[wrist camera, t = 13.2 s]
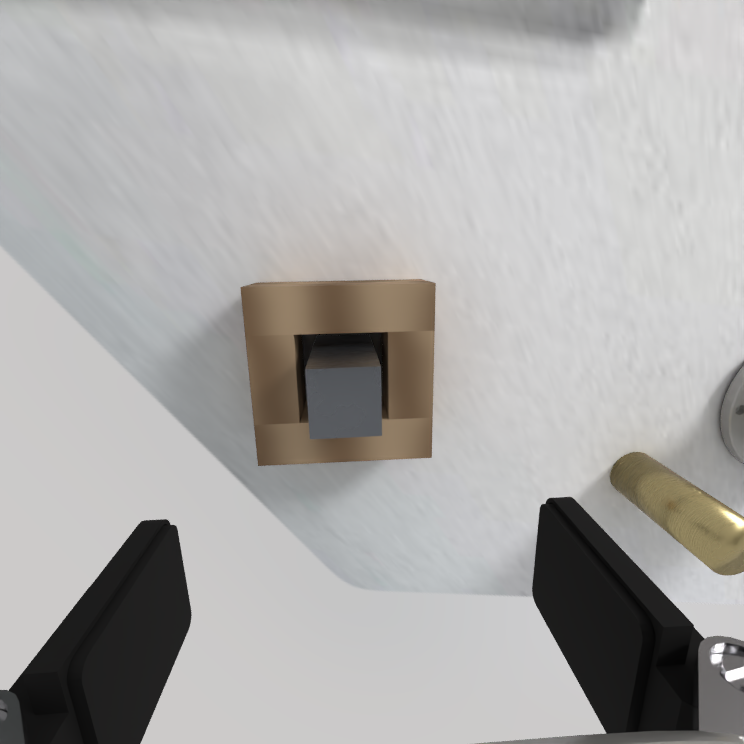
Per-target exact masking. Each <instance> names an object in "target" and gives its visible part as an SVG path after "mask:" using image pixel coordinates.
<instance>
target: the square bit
mask: <svg viewBox="0 0 744 744" xmlns="http://www.w3.org/2000/svg"><path fill="white" fill-rule="evenodd" d="M305 376H306V391H307V406H308V420H309V435H310V439H330V438H351V437H371V436H382V398H381V365H380V362H379V359H378V357H377V354H376V351H375V348H374V345H373V343H372V340H371V337H370V334H342V335H316V338H315V341H314V344H313V347H312V350H311V353H310V356H309V359H308V362H307V365H306V368H305Z"/></svg>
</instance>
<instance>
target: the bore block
mask: <svg viewBox="0 0 744 744" xmlns="http://www.w3.org/2000/svg"><path fill="white" fill-rule="evenodd" d="M435 284H436V283H433V282H429V281H425V280H422V279H413V280H365V281H317V282H269V283H254V284H251V285H247V286H244V287H241V296H242V306H243V316H244V327H245V337H246V347H247V357H248V367H249V377H250V387H251V398H252V408H253V418H254V428H255V438H256V448H257V458H258V466H265V465H286V464H307V463H328V462H349V461H370V460H391V459H412V458H432V415H433V371H434V327H435ZM370 332H381V350H382V396H381V398H382V436H371V437H351V438H330V439H310V435H309V420H308V406H307V399H306V392H305V376H304V360H303V344H302V334H335V333H370Z"/></svg>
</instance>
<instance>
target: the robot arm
mask: <svg viewBox="0 0 744 744" xmlns="http://www.w3.org/2000/svg"><path fill="white" fill-rule="evenodd" d="M720 424H721V432H722V437H723V439H724V442H725V445H726V447H727V448H728V449H729V451H730V452H731V454H732V455H733V456H734V457H735V458H736V459H738V460H739V461H740V462H741V463H743V464H744V366H743V367H742V368H741V369H740V370H739V372H738V373H737V375H736V376H735V378H734V379H733V381H732V382H731V384H730V386H729V388H728V391H727V393H726V395H725V398H724V402H723V405H722V409H721V421H720ZM532 592H533V598H534V601H535V603H536V606H537V608H538V609H539V611H540V613H541V615H542V617H543V618H544V620H545V622H546V624H547V626H548V628H549V629H550V631H551V633H552V635H553V637H554V638H555V640H556V642H557V644H558V646H559V648H560V649H561V651H562V653H563V655H564V657H565V658H566V660H567V662H568V664H569V666H570V668H571V669H572V671H573V673H574V675H575V677H576V678H577V680H578V682H579V684H580V686H581V687H582V689H583V691H584V693H585V695H586V697H587V698H588V700H589V702H590V704H591V706H592V708H593V709H594V711H595V713H596V715H597V716H598V718H599V720H600V722H601V724H602V726H603V727H604V729H605V731H606V733H607V734H593V735H577V736H565V737H552V738H540V739H527V740H514V741H502V742H490V743H477V744H744V641H741V640H738V639H734V638H731V637H724V636H713V637H707V638H706V639H704V638H703V637H702V636H701V635H700V634H699V632H698V631H697V630H696V629H695V628H694V625H693V624H692V623H691V622H690V621H689V620H688V619H687V618H686V617H685V615H684V614H683V613H682V612H681V611H680V610H679V609H678V608H677V607H676V606H675V605H674V604H673V603H672V602H671V601H670V600H669V599H668V597H667V596H666V595H665V594H664V593H663V592H662V591H661V590H660V589H659V588H658V587H657V586H656V585H655V584H654V583H653V582H652V581H651V580H650V579H649V578H648V576H647V575H646V574H645V573H644V572H643V571H642V570H641V569H640V568H639V567H638V566H637V565H636V564H635V563H634V562H633V561H632V560H631V559H630V558H629V556H628V555H627V554H626V553H625V552H624V551H623V550H622V549H621V548H620V547H619V546H618V545H617V544H616V543H615V542H614V541H613V540H612V539H611V538H610V536H609V535H608V534H607V533H606V532H605V531H604V530H603V529H602V528H601V527H600V526H599V525H598V524H597V523H596V522H595V521H594V520H593V519H592V518H591V516H590V515H589V514H588V513H587V512H586V511H585V510H584V509H583V508H582V507H581V506H580V505H579V504H578V503H577V502H576V501H575V500H574V499H573V498H572V497H561V498H549V499H547V501H546V504H542V505H541V507H540V513H539V524H538V534H537V545H536V555H535V566H534V576H533V587H532ZM190 622H191V607H190V602H189V595H188V590H187V583H186V577H185V572H184V566H183V560H182V554H181V548H180V542H179V536H178V530H177V527H176V526H175V525H170V523H169V521H168V520H166V519H165V520H149V521H148V520H146V521H142V522H141V523H140V524H139V525H138V526H137V527H136V529H135V530H134V531H133V532H132V534H131V535H130V536H129V538H128V539H127V540H126V541H125V543H124V544H123V545H122V547H121V548H120V549H119V551H118V552H117V553H116V554H115V556H114V557H113V558H112V560H111V561H110V562H109V563H108V565H107V566H106V567H105V568H104V570H103V571H102V572H101V574H100V575H99V576H98V578H97V579H96V580H95V581H94V582H93V584H92V585H91V586H90V587H89V588H88V589H87V591H86V592H85V593H84V595H83V596H82V597H81V598H80V600H79V601H78V602H77V604H76V605H75V606H74V607H73V609H72V610H71V611H70V613H69V614H68V615H67V616H66V618H65V619H64V620H63V622H62V623H61V624H60V625H59V627H58V628H57V629H56V631H55V632H54V633H53V634H52V636H51V637H50V638H49V639H48V641H47V642H46V644H45V645H44V646H43V647H42V649H41V650H40V651H39V652H38V654H37V655H36V656H35V657H34V659H33V660H32V661H31V663H30V664H29V665H28V666H27V668H26V669H25V670H24V672H23V673H22V674H21V675H20V677H19V678H18V679H17V681H16V682H15V683H14V684H13V686H12V687H11V688H10V689H9V691H8V690H0V744H140V743H141V741H142V738H143V736H144V734H145V731H146V729H147V726H148V724H149V722H150V719H151V717H152V715H153V712H154V710H155V708H156V705H157V703H158V701H159V698H160V696H161V693H162V691H163V689H164V686H165V684H166V682H167V679H168V677H169V675H170V672H171V670H172V667H173V665H174V663H175V660H176V658H177V656H178V653H179V651H180V649H181V646H182V644H183V641H184V639H185V637H186V634H187V632H188V630H189V627H190Z"/></svg>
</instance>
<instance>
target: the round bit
mask: <svg viewBox="0 0 744 744" xmlns="http://www.w3.org/2000/svg"><path fill="white" fill-rule="evenodd" d="M610 478H611V483H612V485H613V486H614V488H615V489H616V490H618V491H619V492H620V493H621V494H622V495H624V496H625V497H626V498H627V499H628V500H630V501H631V502H632V503H633V504H634V505H635V506H637V507H638V508H639V509H640V510H641V511H643V512H644V513H645V514H646V515H647V516H648V517H650V518H651V519H652V520H653V521H654V522H656V523H657V524H658V525H659V526H660V527H662V528H663V529H664V530H665V531H666V532H667V533H669V534H670V535H671V536H672V537H673V538H675V539H676V540H677V541H678V542H679V543H681V544H682V545H683V546H684V547H685V548H686V549H688V550H689V551H690V552H691V553H692V554H694V555H695V556H696V557H697V558H698V559H699V560H701V561H702V562H703V563H704V564H705V565H707V566H708V567H709V568H710V569H711V570H713V571H714V572H715V573H718V574H721V575H735V574H739V573H741V572H744V517H743V516H741V515H740V514H738V513H737V512H735V511H734V510H732V509H731V508H729V507H727V506H726V505H724V504H723V503H721V502H720V501H718V500H717V499H715V498H713V497H712V496H710V495H709V494H707V493H706V492H704V491H703V490H701V489H699V488H698V487H696V486H695V485H693V484H692V483H690V482H689V481H687V480H686V479H684V478H682V477H681V476H679V475H678V474H676V473H675V472H673V471H672V470H670V469H668V468H667V467H665V466H664V465H662V464H661V463H659V462H658V461H656V460H654V459H653V458H651V457H650V456H648V455H647V454H645V453H641V452H633V453H629V454H626V455H624V456H623V457H621V458H620V459H619V460H618V461H617V462H616V463H615V464H614V466H613V468H612V470H611V475H610Z"/></svg>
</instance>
